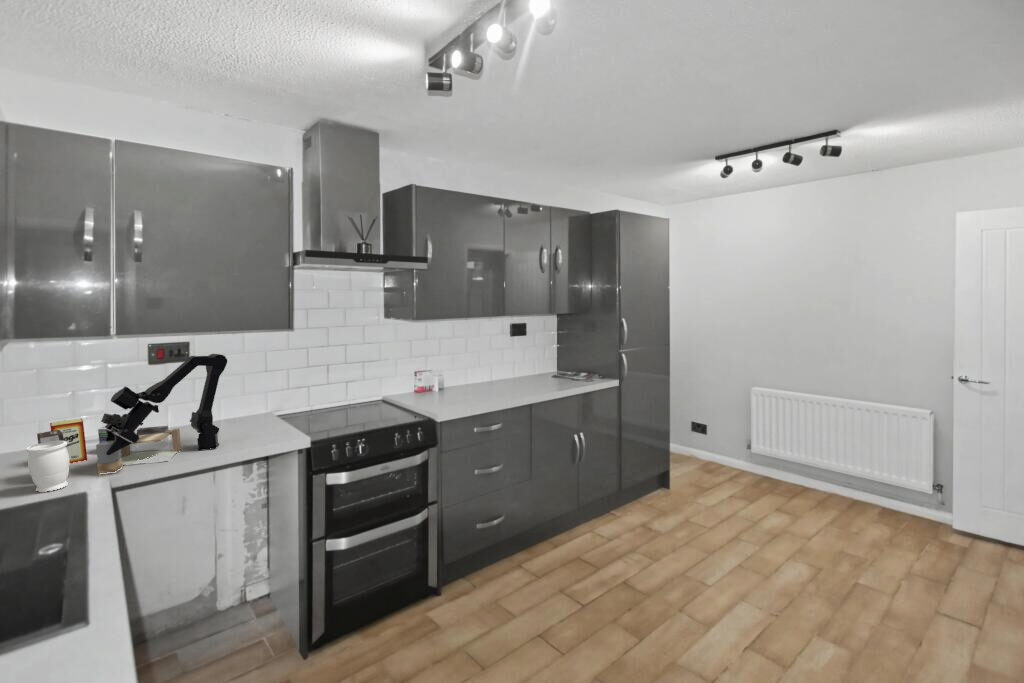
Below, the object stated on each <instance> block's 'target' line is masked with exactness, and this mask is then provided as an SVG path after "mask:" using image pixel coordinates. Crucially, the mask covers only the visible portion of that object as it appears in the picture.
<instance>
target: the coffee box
mask: <svg viewBox="0 0 1024 683" xmlns="http://www.w3.org/2000/svg"><path fill="white" fill-rule="evenodd" d="M36 437H37V444H39V443H44V442H51V441H64V438H63V433H62V432H61V431H60V430H54V431H51V430H49V431H43V432H39V433H36Z"/></svg>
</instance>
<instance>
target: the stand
mask: <svg viewBox="0 0 1024 683" xmlns="http://www.w3.org/2000/svg"><path fill="white" fill-rule="evenodd" d="M170 430H171V432H170V435H171V439H172V440H171V441H172V449H164V450H163V449H162V450H151V451H141V452H140V451H139V452H130V445H128V446H126V447H124V448H122V449H121V454H120V455H121V458H122V465H126V464H133V463H134V462H136V461H137V460H138V459H139V460H143V459H145V458H147V457H149V458H150V457H153V456H156V454H157V455H159V453H160V454H164V455H167V456H170V455H174V454H175V453H177V452H179V451H181V452H182V444H181V443H182V442H181V433H180V431H181V430H180V428H173V429H170ZM170 435H169V436H170ZM179 453H180V452H179ZM177 454H178V453H177ZM152 455H153V456H152ZM149 458H147V459H149Z"/></svg>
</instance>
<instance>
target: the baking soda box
mask: <svg viewBox="0 0 1024 683" xmlns="http://www.w3.org/2000/svg"><path fill="white" fill-rule="evenodd" d="M49 426H50V431H54V430H60V431H61V432H62V433H63V438H64V441H67V445H66V449H67V451H68V454H69V463H71V464H74V463H73V462H76V463H79V462H78V461H81V462H85V461H84V460H86V461H88V454H87V446H86V437H85V435H86V434H85V427H84V420H83V418H81V417H80V418H76V419H75V418H74V419H67V420H66V419H64V420H59V421H54V422H50V423H49Z"/></svg>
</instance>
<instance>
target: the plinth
mask: <svg viewBox="0 0 1024 683" xmlns="http://www.w3.org/2000/svg"><path fill="white" fill-rule="evenodd" d="M96 466H97V467H96V468H97V475H98V474H100V473H107V472H115V471H117V470H118V469H120V468H121V467H122V468H123V466H122V457H121V458H120V459H119V460H117V461H116V462H114V463H104V464H98V463H97V464H96Z"/></svg>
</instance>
